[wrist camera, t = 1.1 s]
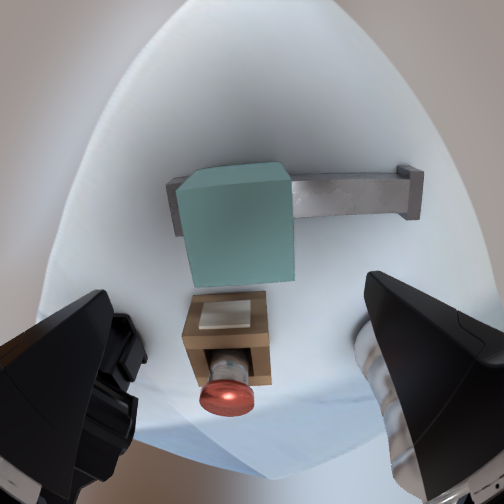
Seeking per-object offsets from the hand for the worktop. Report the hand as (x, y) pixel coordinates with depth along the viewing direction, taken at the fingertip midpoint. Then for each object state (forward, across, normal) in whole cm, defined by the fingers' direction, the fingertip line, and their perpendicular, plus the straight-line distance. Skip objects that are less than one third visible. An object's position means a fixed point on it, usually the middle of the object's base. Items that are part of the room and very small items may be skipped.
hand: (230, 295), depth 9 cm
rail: (+12, -4, 0) cm, 12 cm away
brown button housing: (+12, +2, +11) cm, 16 cm away
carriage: (+12, 0, 0) cm, 12 cm away
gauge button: (+9, +2, +11) cm, 14 cm away
